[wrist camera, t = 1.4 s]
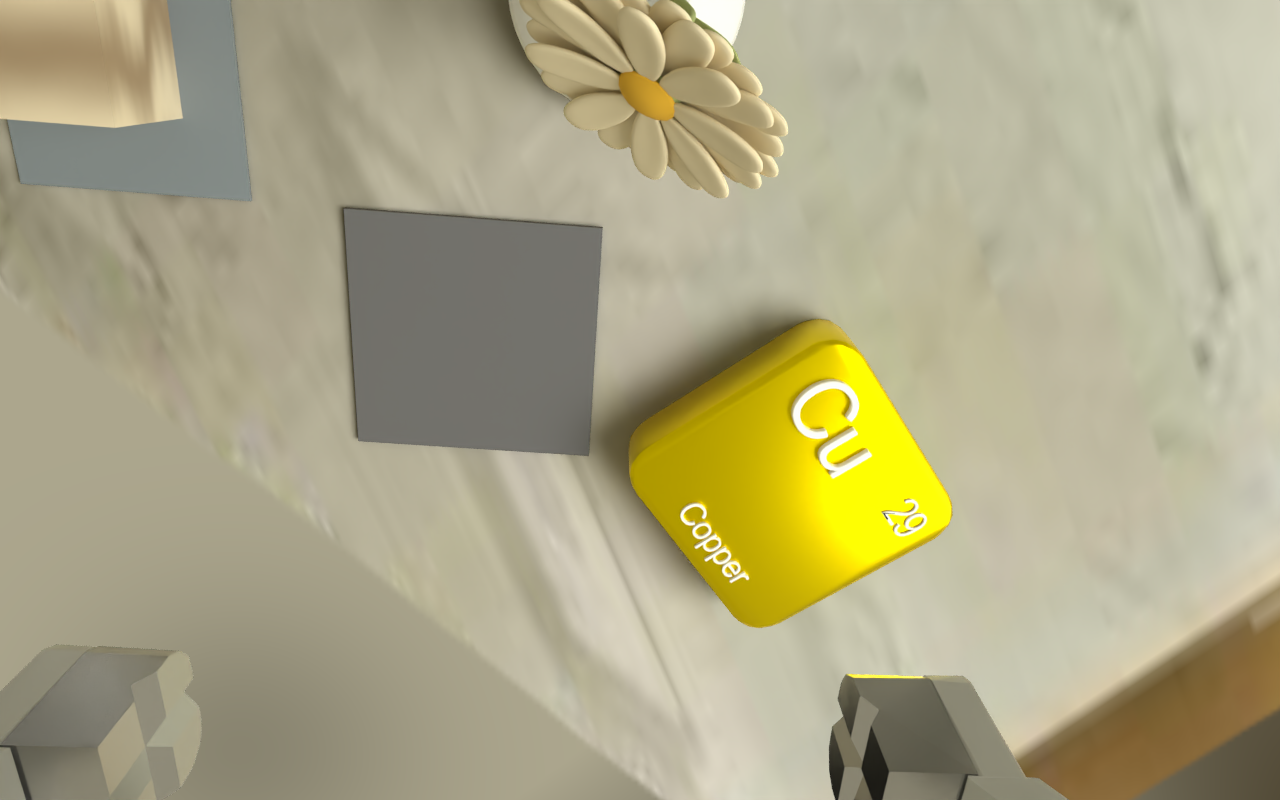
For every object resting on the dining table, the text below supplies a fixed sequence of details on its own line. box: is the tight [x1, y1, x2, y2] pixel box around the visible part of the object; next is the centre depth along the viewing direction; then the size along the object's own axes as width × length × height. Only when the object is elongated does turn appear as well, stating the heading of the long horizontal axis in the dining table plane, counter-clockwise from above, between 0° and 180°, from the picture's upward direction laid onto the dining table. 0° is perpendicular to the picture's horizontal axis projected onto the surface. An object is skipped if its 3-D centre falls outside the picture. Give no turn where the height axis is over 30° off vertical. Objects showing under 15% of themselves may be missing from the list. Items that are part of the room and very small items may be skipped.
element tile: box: [629, 319, 952, 628], centre depth 49 cm, size 15×15×5 cm
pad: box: [344, 208, 603, 456], centre depth 47 cm, size 14×14×1 cm
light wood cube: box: [0, 0, 183, 128], centre depth 38 cm, size 6×6×6 cm
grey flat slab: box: [7, 0, 252, 201], centre depth 41 cm, size 14×12×1 cm
